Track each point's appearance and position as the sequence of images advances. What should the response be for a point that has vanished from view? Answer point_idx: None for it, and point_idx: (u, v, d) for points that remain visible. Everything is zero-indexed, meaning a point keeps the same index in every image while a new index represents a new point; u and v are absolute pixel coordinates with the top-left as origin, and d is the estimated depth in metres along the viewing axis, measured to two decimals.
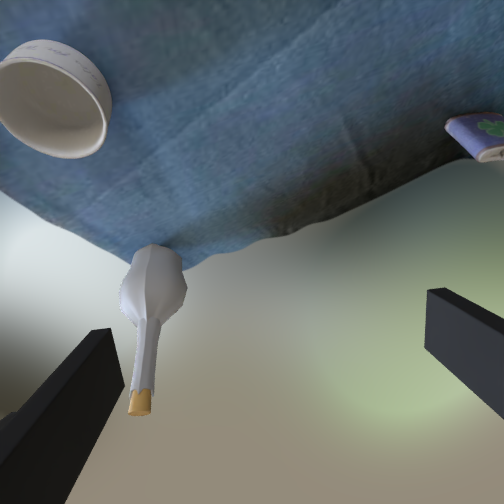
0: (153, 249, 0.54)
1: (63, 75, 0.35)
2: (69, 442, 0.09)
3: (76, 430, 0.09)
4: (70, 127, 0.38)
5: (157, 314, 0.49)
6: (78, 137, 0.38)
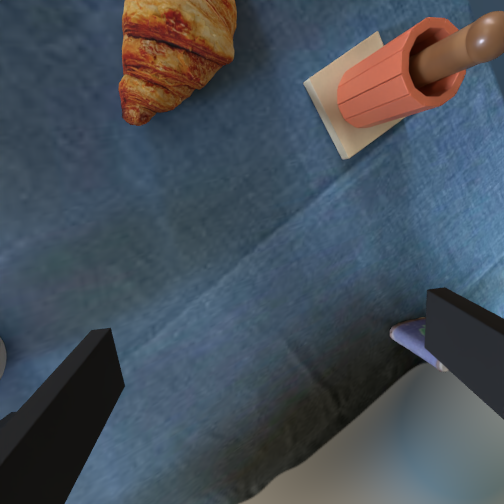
0: None
1: None
2: (69, 442, 0.09)
3: (76, 430, 0.09)
4: None
5: None
6: None
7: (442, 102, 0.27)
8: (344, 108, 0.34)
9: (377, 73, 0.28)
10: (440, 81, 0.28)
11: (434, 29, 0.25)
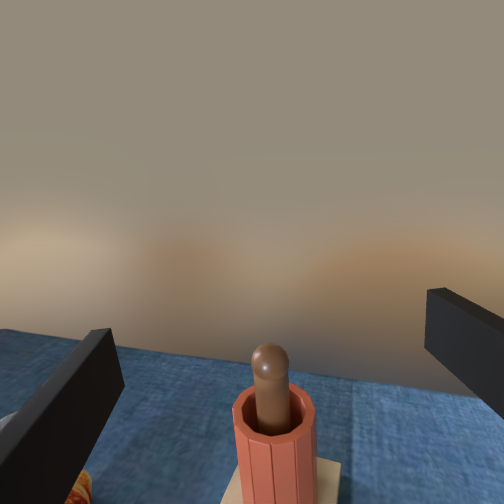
0: None
1: None
2: (69, 442, 0.09)
3: (76, 430, 0.09)
4: None
5: None
6: None
7: (310, 424, 0.24)
8: None
9: (243, 460, 0.24)
10: (302, 415, 0.27)
11: (253, 394, 0.27)
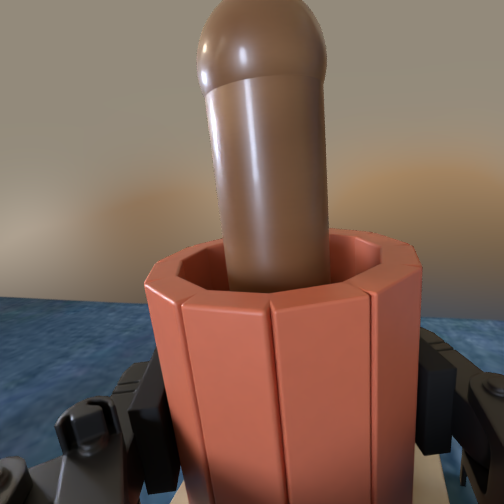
0: None
1: None
2: None
3: None
4: None
5: None
6: None
7: (411, 262, 0.06)
8: None
9: (177, 409, 0.07)
10: None
11: (223, 249, 0.10)
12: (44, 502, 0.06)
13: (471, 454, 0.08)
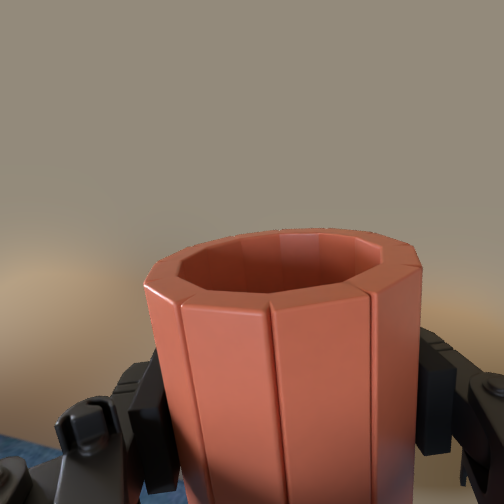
0: None
1: None
2: None
3: None
4: None
5: None
6: None
7: (412, 262, 0.06)
8: None
9: (177, 409, 0.07)
10: None
11: (222, 249, 0.10)
12: (44, 502, 0.06)
13: (471, 454, 0.08)
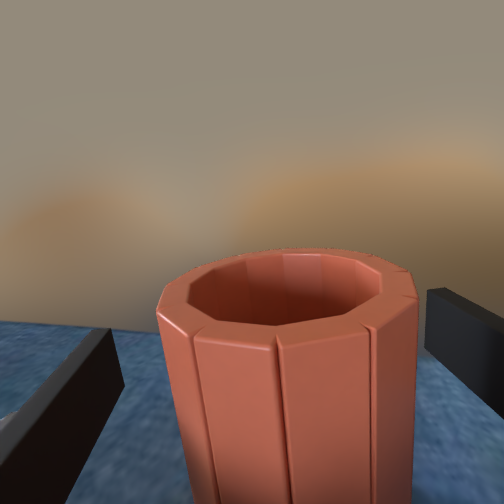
0: None
1: None
2: (69, 442, 0.09)
3: (76, 430, 0.09)
4: None
5: None
6: None
7: (409, 292, 0.07)
8: None
9: (188, 429, 0.07)
10: None
11: (228, 269, 0.11)
12: None
13: None
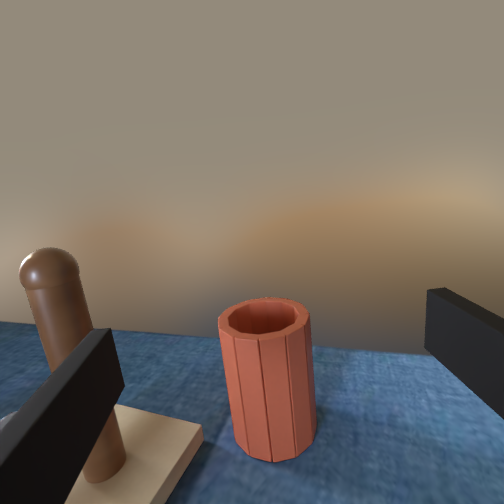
0: None
1: None
2: (69, 442, 0.09)
3: (76, 430, 0.09)
4: None
5: None
6: None
7: (303, 323, 0.21)
8: (255, 447, 0.22)
9: (229, 370, 0.22)
10: None
11: (241, 309, 0.25)
12: None
13: None
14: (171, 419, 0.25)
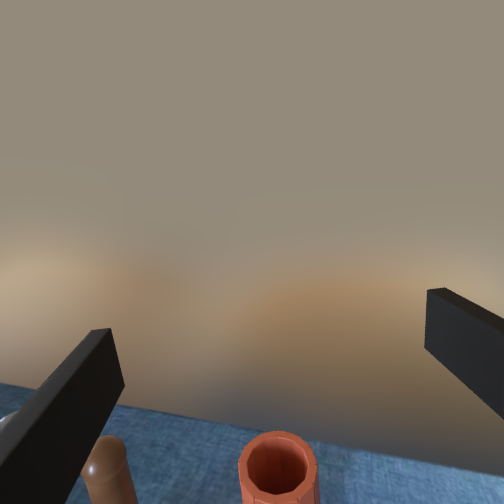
0: None
1: None
2: (69, 442, 0.09)
3: (76, 430, 0.09)
4: None
5: None
6: None
7: (312, 480, 0.25)
8: None
9: None
10: (305, 467, 0.28)
11: (257, 446, 0.28)
12: None
13: None
14: None
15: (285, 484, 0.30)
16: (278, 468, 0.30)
